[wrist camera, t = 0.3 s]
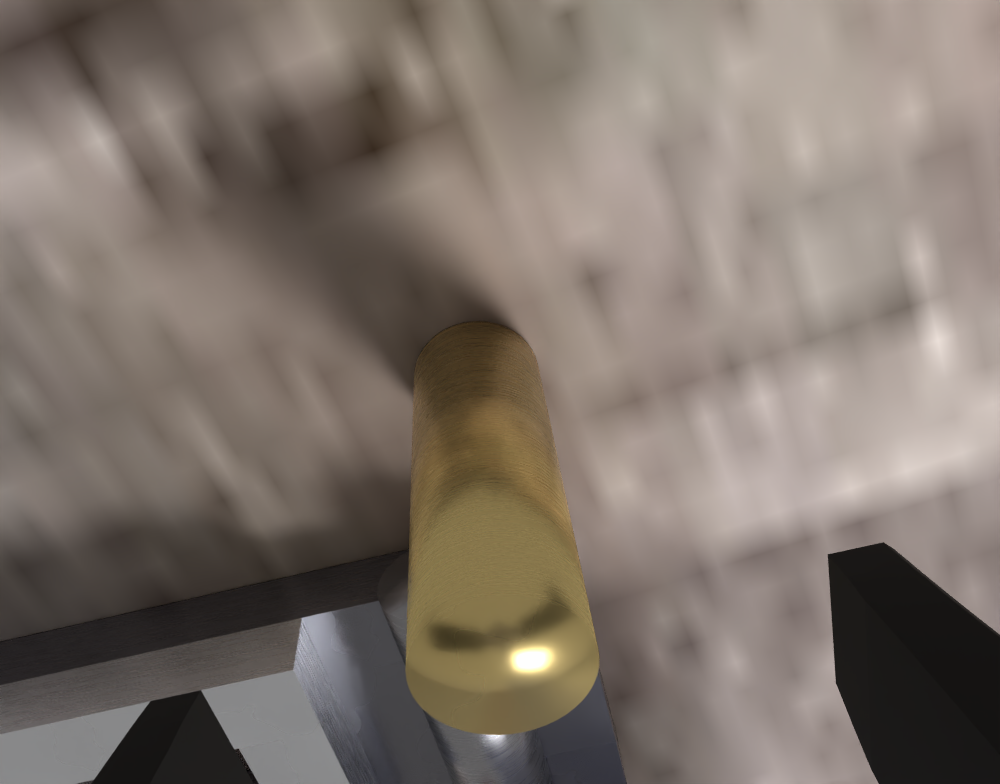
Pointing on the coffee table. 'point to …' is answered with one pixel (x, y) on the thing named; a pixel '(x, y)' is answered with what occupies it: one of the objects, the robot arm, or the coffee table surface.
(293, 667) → the silver hollow frame
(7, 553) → the coffee table surface
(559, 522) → the brass pin
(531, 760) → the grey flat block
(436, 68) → the coffee table surface
